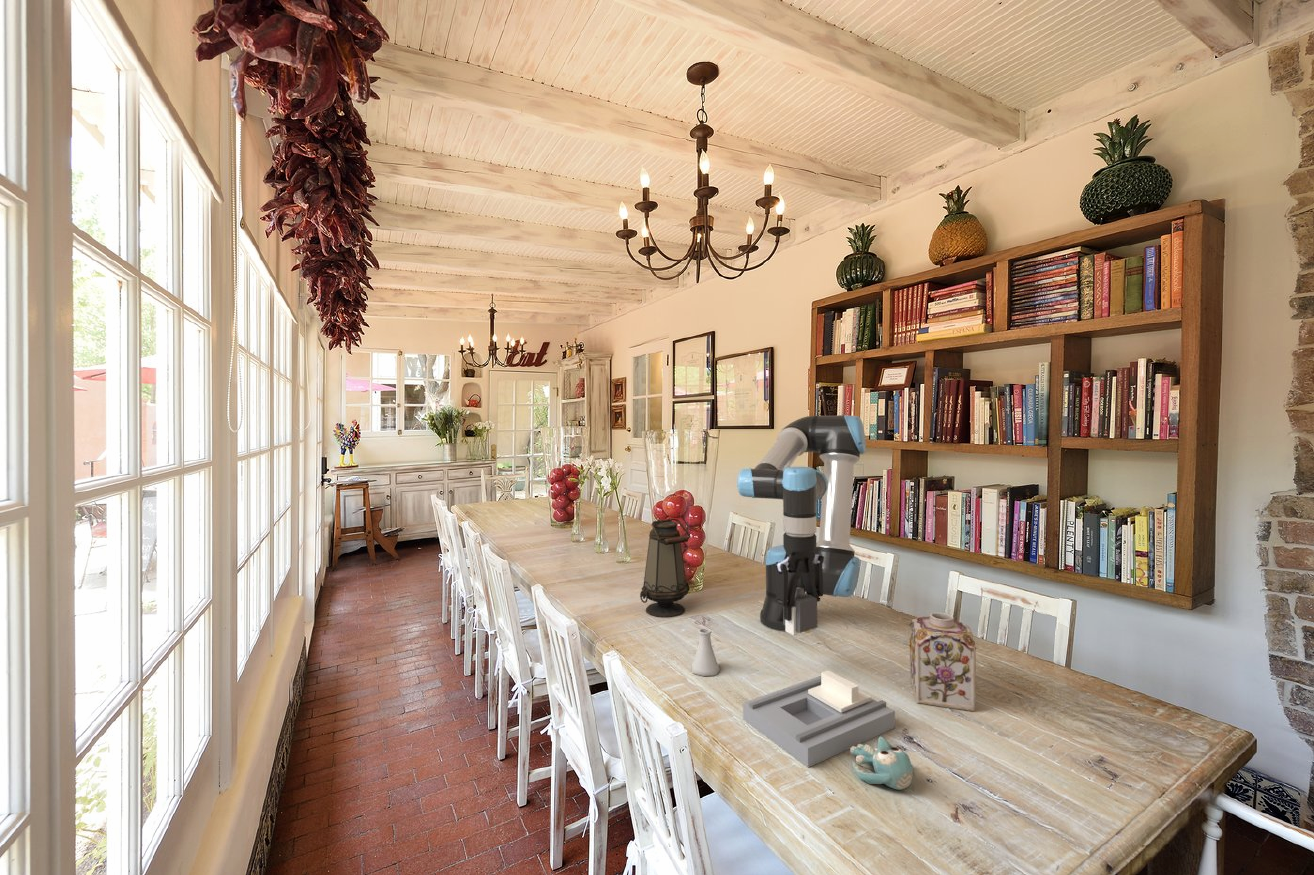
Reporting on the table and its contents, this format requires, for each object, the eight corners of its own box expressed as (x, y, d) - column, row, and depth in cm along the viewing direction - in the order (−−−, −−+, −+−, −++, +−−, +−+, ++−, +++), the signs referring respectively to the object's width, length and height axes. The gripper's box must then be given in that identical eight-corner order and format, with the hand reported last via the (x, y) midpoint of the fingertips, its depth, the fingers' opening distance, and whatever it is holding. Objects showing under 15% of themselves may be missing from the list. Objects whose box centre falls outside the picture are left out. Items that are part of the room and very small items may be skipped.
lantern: (673, 598, 187) (672, 512, 186) (701, 611, 174) (701, 518, 173) (628, 609, 176) (627, 518, 175) (655, 623, 164) (654, 525, 163)
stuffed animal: (873, 717, 102) (927, 739, 91) (879, 758, 101) (934, 784, 90) (829, 731, 98) (880, 756, 87) (834, 773, 97) (886, 804, 86)
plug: (800, 624, 131) (799, 583, 131) (817, 632, 127) (817, 589, 126) (783, 629, 129) (783, 587, 128) (800, 637, 124) (799, 594, 123)
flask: (718, 678, 129) (718, 637, 129) (688, 675, 130) (688, 635, 130) (721, 665, 136) (721, 625, 136) (692, 662, 138) (692, 624, 137)
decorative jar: (965, 686, 124) (965, 609, 123) (977, 713, 113) (977, 628, 112) (908, 679, 128) (908, 604, 127) (914, 703, 117) (914, 621, 116)
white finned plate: (837, 682, 119) (837, 665, 118) (871, 700, 111) (871, 682, 111) (808, 693, 114) (808, 675, 114) (841, 712, 106) (841, 693, 106)
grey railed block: (825, 689, 123) (825, 670, 123) (894, 727, 108) (894, 706, 108) (743, 719, 111) (743, 698, 111) (807, 767, 96) (807, 744, 95)
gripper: (815, 525, 134) (816, 616, 135) (758, 535, 125) (759, 633, 126) (839, 530, 128) (840, 626, 129) (781, 542, 118) (782, 645, 120)
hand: (800, 629), depth 127 cm, fingers closed on plug, 5 cm apart
